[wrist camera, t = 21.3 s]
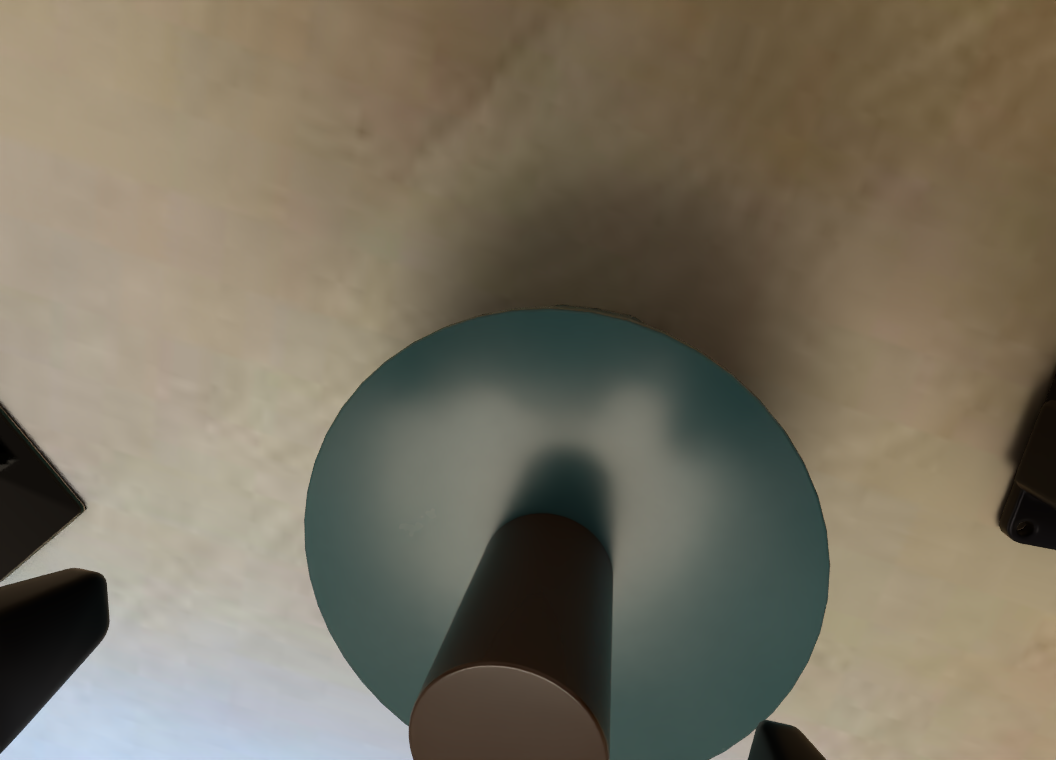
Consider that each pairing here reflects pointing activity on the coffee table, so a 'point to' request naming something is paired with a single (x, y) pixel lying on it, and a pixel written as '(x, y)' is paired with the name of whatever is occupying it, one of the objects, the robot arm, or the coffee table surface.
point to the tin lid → (566, 543)
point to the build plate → (29, 499)
